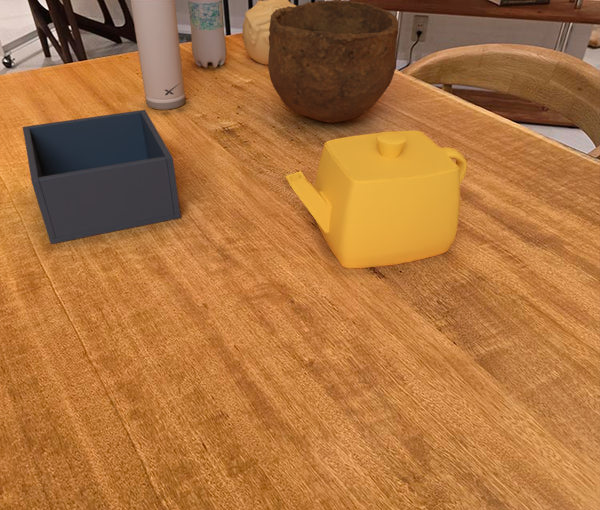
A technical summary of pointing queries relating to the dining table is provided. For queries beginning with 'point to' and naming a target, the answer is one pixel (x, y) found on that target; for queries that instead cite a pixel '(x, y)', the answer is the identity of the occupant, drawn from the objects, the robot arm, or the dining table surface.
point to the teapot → (384, 197)
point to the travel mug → (159, 53)
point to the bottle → (207, 32)
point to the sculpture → (260, 28)
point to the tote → (101, 175)
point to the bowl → (332, 57)
